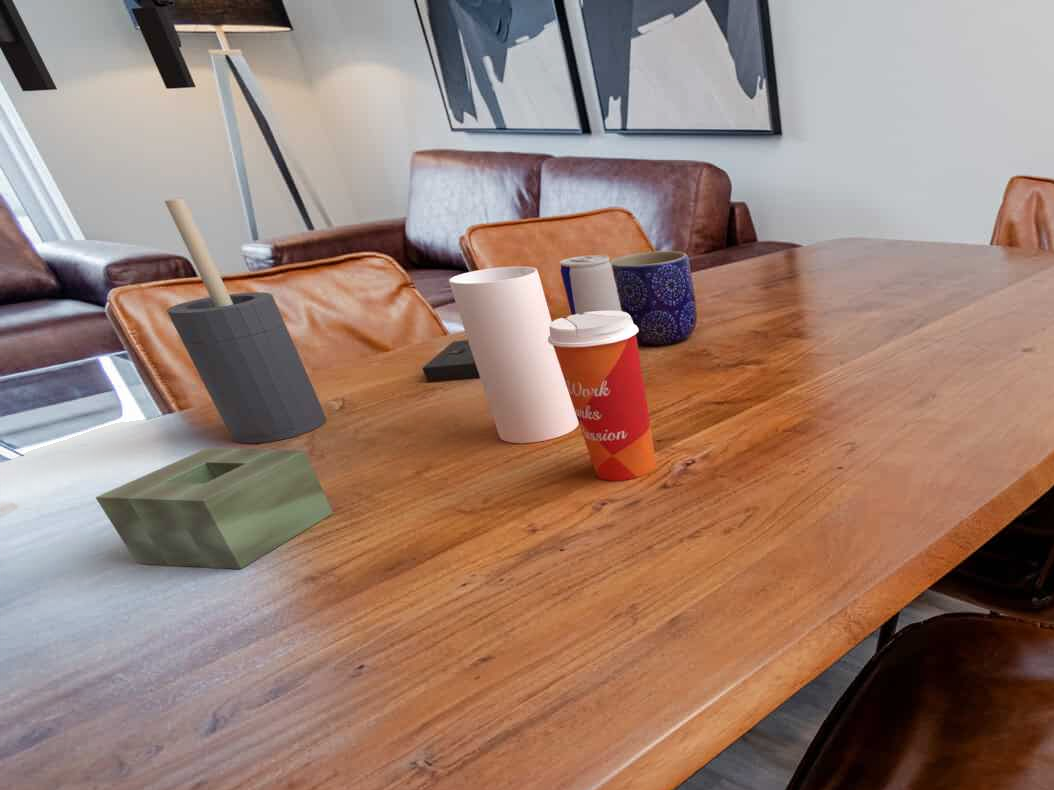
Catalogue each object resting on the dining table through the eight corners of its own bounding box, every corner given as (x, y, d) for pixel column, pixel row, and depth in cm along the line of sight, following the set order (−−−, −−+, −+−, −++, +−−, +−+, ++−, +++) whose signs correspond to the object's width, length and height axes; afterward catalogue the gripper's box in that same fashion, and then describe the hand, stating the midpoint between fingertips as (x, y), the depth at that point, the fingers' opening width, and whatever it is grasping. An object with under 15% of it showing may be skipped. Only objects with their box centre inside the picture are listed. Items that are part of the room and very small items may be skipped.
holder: (136, 564, 67) (94, 497, 64) (239, 509, 75) (206, 448, 72) (241, 569, 65) (203, 500, 62) (334, 513, 73) (304, 450, 70)
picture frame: (584, 343, 120) (457, 354, 118) (580, 327, 119) (452, 338, 117) (567, 369, 109) (427, 382, 107) (562, 352, 107) (420, 365, 106)
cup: (558, 410, 94) (517, 263, 86) (592, 427, 89) (551, 271, 81) (487, 431, 90) (436, 277, 81) (518, 449, 85) (466, 287, 76)
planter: (632, 333, 124) (615, 254, 118) (705, 327, 124) (691, 248, 118) (619, 353, 115) (599, 268, 109) (698, 346, 115) (683, 262, 109)
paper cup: (569, 472, 79) (527, 322, 71) (639, 447, 83) (606, 305, 76) (612, 493, 74) (572, 335, 67) (683, 465, 79) (653, 315, 71)
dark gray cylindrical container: (212, 443, 91) (143, 313, 83) (278, 414, 99) (220, 292, 91) (283, 444, 89) (220, 312, 82) (344, 415, 97) (292, 291, 90)
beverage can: (603, 381, 103) (572, 254, 95) (645, 381, 103) (617, 253, 95) (583, 395, 99) (548, 263, 91) (626, 395, 98) (596, 262, 90)
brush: (257, 426, 93) (147, 201, 80) (279, 417, 95) (176, 197, 83) (279, 427, 92) (171, 201, 80) (300, 417, 94) (200, 196, 82)
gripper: (-198, -291, 54) (4, 89, 65) (152, -190, 75) (259, 85, 86) (-283, -277, 55) (-70, 93, 66) (84, -182, 76) (199, 88, 87)
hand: (116, 89), depth 76 cm, fingers open, 13 cm apart
